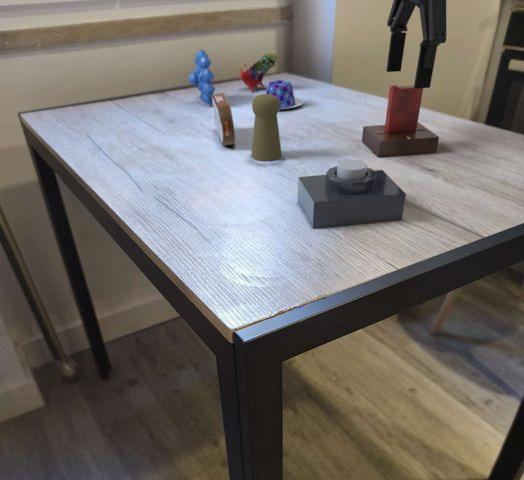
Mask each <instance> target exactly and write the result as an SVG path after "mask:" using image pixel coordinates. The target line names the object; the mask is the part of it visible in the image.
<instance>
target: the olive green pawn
mask: <svg viewBox="0 0 524 480" xmlns="http://www.w3.org/2000/svg"><path fill="white" fill-rule="evenodd" d="M279 108H280V103H279V100H278V98H277V97H276V96H275V95H271V94H266V93H262V94H257V95H256V96H254V97H253V99H252V102H251V109H252V113H253V114H254V124H253V135H252V147H251V154H250V155H251V158H252V159H253V160H255V161H260V162H271V161H276V160H279V159H280V158H282V148H281V147H282V146H281V139H280V131H279V130H280V129H279V122H278V114H279V111H280V110H279Z"/></svg>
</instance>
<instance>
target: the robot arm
mask: <svg viewBox="0 0 524 480" xmlns="http://www.w3.org/2000/svg"><path fill="white" fill-rule="evenodd" d="M416 7H417V8H418V9H419V16H420V23H421V24H420V25H421V32H422V33H421V34H422V41H421V42H420V43H419V52H418V53H419V54H418V60H417V64H416V65H417V66H416V70H415V71H416V72H415V77H414V84H413V86H414V88H415V89H418V88H423V89H430V88H431V84H432V80H433V79H432V78H433V72H434V69H435V61H436V56H437V51H438V46H441V44H445V43H446V42H447V0H393V1H392V4H391V7H390V12H389V15H388V18H387V22H386V26H387V27H389V31H390V39H389V48H388V54H387V55H388V56H387V64H386V72H387V73H394V72H395V73H397V72H402V65H403V58H404V51H405V44H406V38H407V32H408V30H409V29H408V26H407V25H408V23H409V21H410V19H411V17H412V14H413V13H414V11H415V8H416Z"/></svg>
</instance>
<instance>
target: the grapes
mask: <svg viewBox="0 0 524 480" xmlns="http://www.w3.org/2000/svg"><path fill="white" fill-rule="evenodd" d="M194 57H195V58H194V60H193V62H194V63H195V65H196V66H195V68H194V70H193V71H191V72H190V73H189V74H188V77H187V81H189V83H190V84H191V85H193V86H194V87H196V88H197V89H198V91H199V92H200V94H199V98H200V100H201V101H202V102H203V103H205V104H206V105H211V104H213V103H212V95H213V94H215V93H214V92H215V91H216V88H215V87H214V85H213V84H212V82H213V80H214V78H215V74H214V73H213V72H212V71H211V69H209V68H210V67H211V64H212V61H211V59H210V58H209V54H208V53H207V52H206V51H205V50H204V49H202V48H201V49H199V50H198V51H197V53H196V54H195V56H194Z"/></svg>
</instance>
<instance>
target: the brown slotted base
mask: <svg viewBox="0 0 524 480" xmlns="http://www.w3.org/2000/svg"><path fill="white" fill-rule="evenodd" d="M384 130H385V124H377V125H376V124H375V125H365V126H363V127H362V136H361V142H362V143H363V144H364V146H366V147H367V148H368V149H369V150H370V151H371V152H372V153H373V154H374V155H375V156H376V157H377V158H386V157H387V158H388V157H389V158H390V157H399V156H400V157H401V156H411V155H412V156H413V155H423V154H436V153H437V150H438V145H439V141H440V136H439V135H438V134H436V133H435V132H433V131H432V130H430V129H428V128H427V127H426V126H424V125H423V124H421V123H420V122H419V121H418V123H417V129H416V131H414V132H402V133H389V134H388V133H386V132H385V131H384Z"/></svg>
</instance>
